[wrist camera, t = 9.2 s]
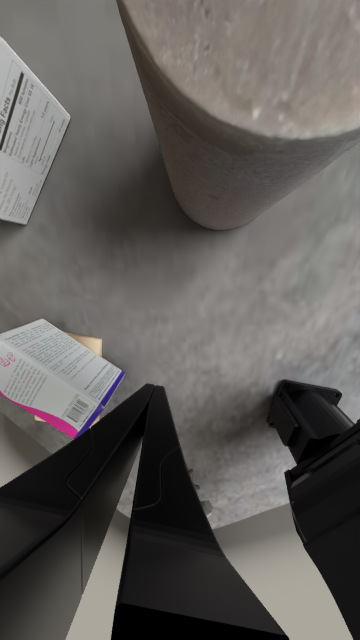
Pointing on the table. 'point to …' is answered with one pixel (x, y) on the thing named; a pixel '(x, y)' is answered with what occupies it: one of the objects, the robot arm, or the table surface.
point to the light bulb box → (25, 136)
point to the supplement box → (55, 376)
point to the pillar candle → (246, 96)
